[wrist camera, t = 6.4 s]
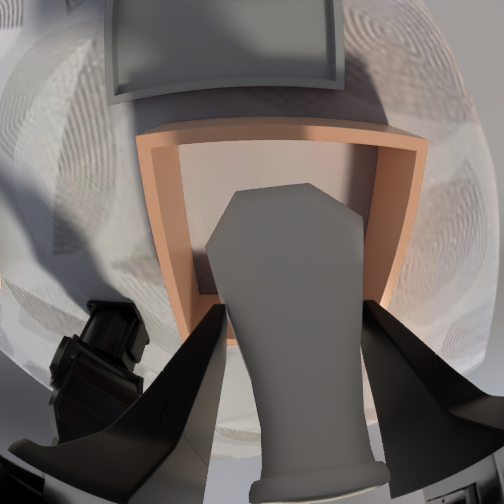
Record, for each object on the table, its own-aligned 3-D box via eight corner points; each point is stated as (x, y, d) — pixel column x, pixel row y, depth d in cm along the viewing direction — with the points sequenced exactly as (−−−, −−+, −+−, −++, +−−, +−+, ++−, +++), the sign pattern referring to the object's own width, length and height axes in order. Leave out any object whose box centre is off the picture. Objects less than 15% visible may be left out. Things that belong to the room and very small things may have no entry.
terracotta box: (192, 300, 26) (182, 343, 22) (164, 123, 18) (135, 135, 13) (358, 295, 26) (375, 336, 22) (389, 125, 17) (428, 140, 13)
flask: (216, 163, 10) (110, 462, 2) (384, 200, 11) (528, 405, 2) (200, 302, 14) (168, 501, 6) (331, 318, 15) (369, 495, 6)
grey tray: (117, 103, 16) (107, 105, 15) (117, -33, 9) (109, -39, 8) (338, 90, 16) (344, 90, 15) (329, -52, 9) (334, -59, 8)
